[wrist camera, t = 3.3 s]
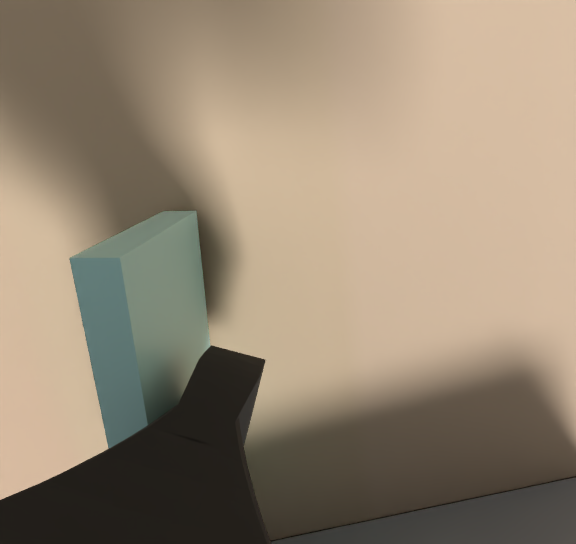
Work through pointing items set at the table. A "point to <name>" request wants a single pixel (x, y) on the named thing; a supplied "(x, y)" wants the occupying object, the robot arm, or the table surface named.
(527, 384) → the table surface
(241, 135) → the table surface
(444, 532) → the camera case
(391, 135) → the table surface
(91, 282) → the teal bar
